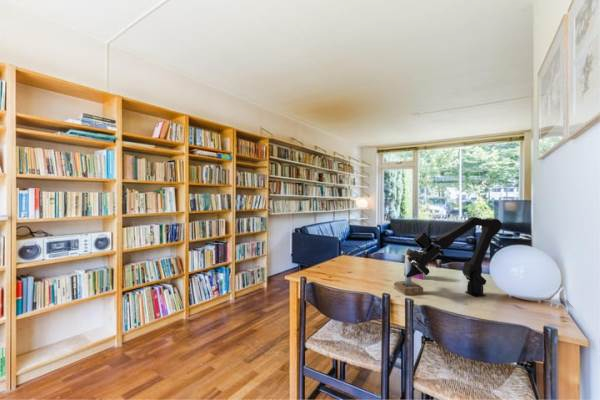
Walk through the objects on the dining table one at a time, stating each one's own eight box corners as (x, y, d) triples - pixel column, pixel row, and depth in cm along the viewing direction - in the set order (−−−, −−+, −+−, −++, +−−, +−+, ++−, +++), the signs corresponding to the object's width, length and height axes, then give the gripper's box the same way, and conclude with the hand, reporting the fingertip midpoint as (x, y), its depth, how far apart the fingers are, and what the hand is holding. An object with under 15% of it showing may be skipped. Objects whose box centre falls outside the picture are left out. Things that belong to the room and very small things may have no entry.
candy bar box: (404, 276, 170) (404, 249, 170) (407, 274, 174) (407, 248, 174) (422, 280, 163) (423, 252, 162) (426, 278, 166) (426, 251, 166)
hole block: (411, 288, 149) (411, 281, 149) (423, 294, 139) (423, 287, 139) (394, 289, 147) (394, 282, 147) (405, 296, 137) (405, 288, 137)
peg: (407, 286, 145) (407, 261, 145) (412, 288, 142) (412, 263, 142) (403, 287, 143) (403, 262, 143) (408, 289, 141) (409, 263, 141)
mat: (410, 281, 161) (410, 280, 161) (421, 286, 151) (421, 285, 151) (394, 282, 159) (394, 281, 159) (404, 287, 149) (404, 287, 149)
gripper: (411, 240, 151) (390, 260, 153) (422, 246, 133) (398, 269, 134) (426, 255, 151) (404, 275, 152) (439, 263, 132) (415, 286, 133)
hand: (405, 276), depth 143 cm, fingers closed on peg, 3 cm apart
